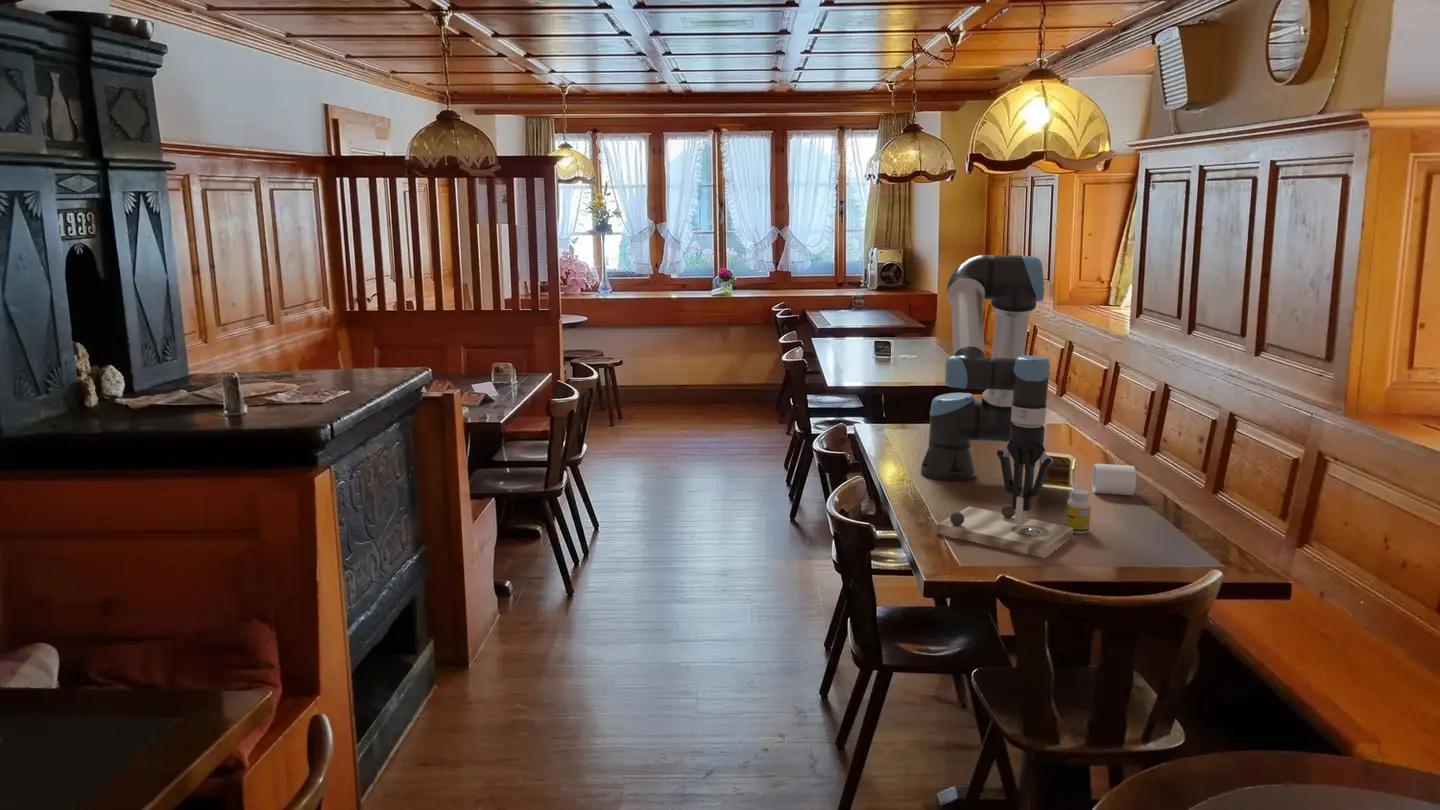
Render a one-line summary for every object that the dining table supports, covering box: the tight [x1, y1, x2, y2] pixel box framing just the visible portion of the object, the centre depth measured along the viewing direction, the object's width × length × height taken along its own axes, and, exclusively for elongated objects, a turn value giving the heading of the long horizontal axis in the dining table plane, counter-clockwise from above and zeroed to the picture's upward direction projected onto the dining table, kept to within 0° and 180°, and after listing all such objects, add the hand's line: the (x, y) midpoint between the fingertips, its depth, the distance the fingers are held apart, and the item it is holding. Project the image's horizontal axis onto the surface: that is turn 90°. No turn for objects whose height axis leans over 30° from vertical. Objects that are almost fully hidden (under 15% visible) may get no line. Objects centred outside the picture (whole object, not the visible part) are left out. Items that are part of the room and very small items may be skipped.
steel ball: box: [1025, 528, 1039, 534], centre depth 234 cm, size 3×3×3 cm
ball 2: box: [1000, 504, 1016, 518], centre depth 243 cm, size 3×3×3 cm
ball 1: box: [949, 511, 964, 526], centre depth 237 cm, size 3×3×3 cm
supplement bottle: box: [1064, 488, 1092, 535], centre depth 242 cm, size 5×5×10 cm
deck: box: [936, 505, 1074, 559], centre depth 238 cm, size 26×18×2 cm
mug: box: [1091, 463, 1137, 496], centre depth 275 cm, size 12×10×8 cm
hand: (1020, 523), depth 235 cm, fingers closed
